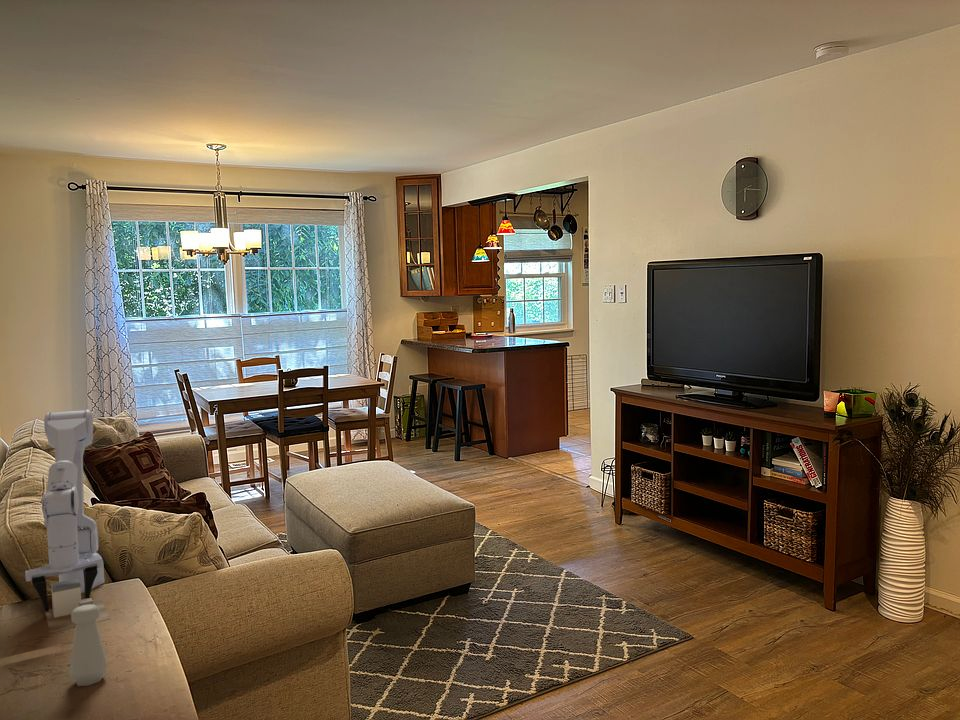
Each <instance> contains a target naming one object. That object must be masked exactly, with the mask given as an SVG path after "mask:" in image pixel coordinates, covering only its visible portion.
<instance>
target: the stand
mask: <svg viewBox="0 0 960 720" xmlns="http://www.w3.org/2000/svg"><path fill="white" fill-rule="evenodd" d="M88 604H93V605H96V606H98V607H99V617H98V618H97V619H96V621H97V623H100V622H103V621H108V620H111V617H110V615H109V614H108V611H107V608H106V607H105V604H104V602H103V600H102V599H101V598H99V599H92V597H90V598H88V599H85V598H83V599H81V600H79V607H80V606H83V605H88ZM44 613H45V617H46V622H47V626H48V632H49V634H52V633H56V632H60V631H64V630H69V629H73V628H74V629H75V627H76V624H74V623H73V622H72V620H71V614H69V615H64V616H60V617H55V618H54V614H53V608H52V609H49V611H48V612H45V611H44Z"/></svg>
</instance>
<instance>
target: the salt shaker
mask: <svg viewBox="0 0 960 720" xmlns="http://www.w3.org/2000/svg"><path fill="white" fill-rule="evenodd" d="M98 617H99V607H98V606H96V605H93V604H88V605H83V606H80V607H77V608H75V609H74V610H73V611H72V614H71V620H72V622H73V623H74V624H76V627H74V635H73V643H72V650H71V659H70V666H69V671H68V672H69V675H70V677H71V678H72V680H73V681H74V682H75V684H76V685H77V687H85V686H87V687H88V686H89V687H90V686H91V685H94V684H96V683H99V682H101V680H102V679H103V677H104V674H105V672H106V669H107V665H108V660H107V657H106V656H107V655H106V652H105V648H104V644H103V641H102V637H101V634H100V630H99V625H98V622H97V621H96V619H97V618H98Z"/></svg>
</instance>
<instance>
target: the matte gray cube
mask: <svg viewBox="0 0 960 720" xmlns="http://www.w3.org/2000/svg"><path fill="white" fill-rule="evenodd" d="M50 587H51V591H50V592H51V601H52V602H51V603H52V609H53V614H54V618H55V617H60V616H64V615H69V614H72V611H73V610H74V609H75V608H77V607H79V600H82V593H81V587H80V582H79V580H78V579H73V580H68V581H63V582H59V581H58V582H54V583H51V584H50Z"/></svg>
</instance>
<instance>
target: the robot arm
mask: <svg viewBox="0 0 960 720" xmlns="http://www.w3.org/2000/svg"><path fill="white" fill-rule="evenodd" d="M43 425H44V426H43V429H44V434H45V436H46V438H47V442H48V444H49V446H50V448H52V449H54V456H55V457H54V463H53V464H51V465H50V467H49V468H48V475H47V483H46V485H47V486H46V494H45V493H44V494H42V499H41V510H42V515H43V518H44V527H45V528H46V534H47V535H46V536H47V551H48V553H47V554H48V564H47V565H44V566H40V567H36V568H32V569H28V570H25V572H24V573H25V582H31V583H32V586H33V587H34V589H35V590H36V592H37V594H38V595H39V597H40V599H41V601H42V605H43V608H44V613H45V612H48V611H49V610H50V607H49V603H48V602H49V601H48V593H47V591H48V590H47V589H48V588H47V579H46V578H47V577H54V576H58V582H63V581H68V580H73V579H78V580H79V582H80V587H81V594H82V593H84V594H83V595H84V598H83V599H88V598H91V597H90V596H91V591H92V590H93V589H94V588H96V587H98V586H100V585H102V584H103V585H104V584H105V581H106V580H105V571H104V570H105V567H104V560H103V557H102V556H101V555H100V554H99V552H98V550H99V532H98V531H99V530H98V523H97V522H96V520H95V519H93V518H91V517H90V516H87V515H85V506H84V505H85V503H84V501H85V500H84V499H85V497H84V496H85V495H84V494H85V493H84V454H85V449H86V448H87V447H89V446H91V445H92V444H93V440H94V419H93V413H92V411H91V410H90V409H89V408H88V409H85V410H83V409H82V410H71V411H56V412H51V411H50V412H49V411H48V412H47V413H46V414H45V415H44V420H43Z"/></svg>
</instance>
